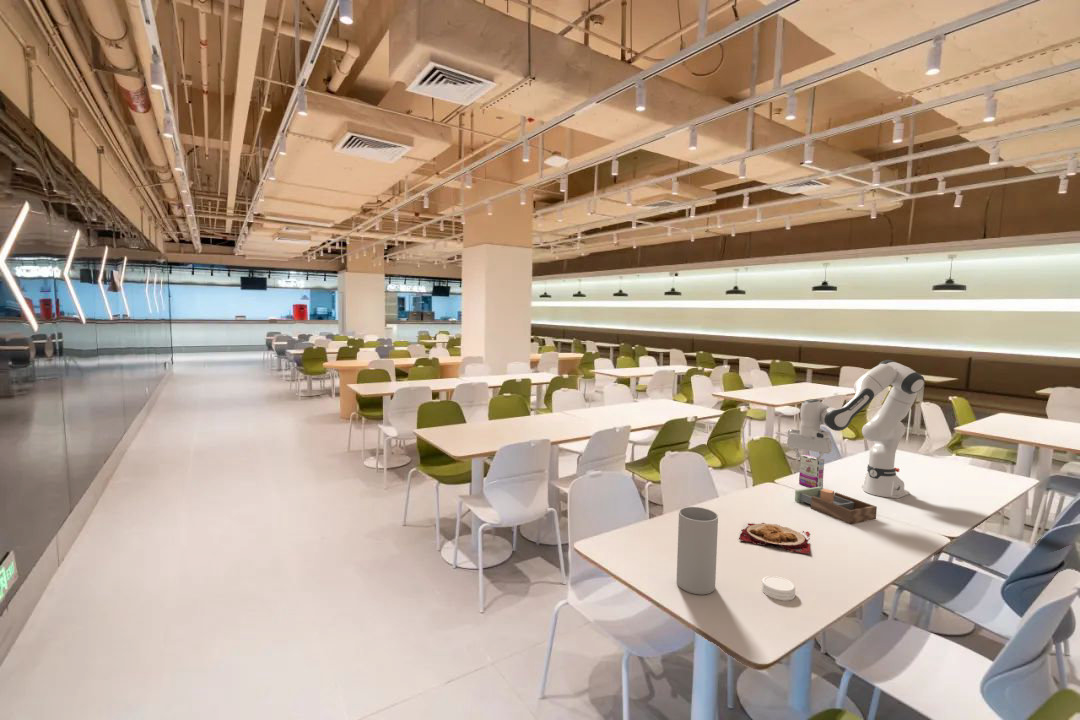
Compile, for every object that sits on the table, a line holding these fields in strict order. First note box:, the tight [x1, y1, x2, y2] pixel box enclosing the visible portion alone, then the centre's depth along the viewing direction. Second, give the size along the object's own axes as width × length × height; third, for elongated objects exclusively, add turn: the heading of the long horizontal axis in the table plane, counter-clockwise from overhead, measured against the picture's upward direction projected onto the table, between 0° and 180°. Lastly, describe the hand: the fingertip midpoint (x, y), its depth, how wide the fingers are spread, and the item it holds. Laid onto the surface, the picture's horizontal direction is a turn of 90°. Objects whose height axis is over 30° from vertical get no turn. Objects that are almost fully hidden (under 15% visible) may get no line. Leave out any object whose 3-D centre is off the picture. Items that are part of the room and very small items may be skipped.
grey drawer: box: [794, 487, 854, 510], centre depth 241 cm, size 17×20×6 cm
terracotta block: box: [820, 488, 835, 503], centre depth 240 cm, size 5×5×6 cm
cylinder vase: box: [676, 506, 719, 596], centre depth 167 cm, size 12×12×25 cm
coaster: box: [761, 575, 796, 601], centre depth 164 cm, size 10×10×4 cm
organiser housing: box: [810, 491, 878, 525], centre depth 232 cm, size 17×20×6 cm
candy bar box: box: [798, 454, 825, 489], centre depth 271 cm, size 11×5×16 cm, turn 25°
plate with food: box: [738, 522, 811, 554], centre depth 206 cm, size 24×26×4 cm
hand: (808, 458), depth 249 cm, fingers open, 8 cm apart
